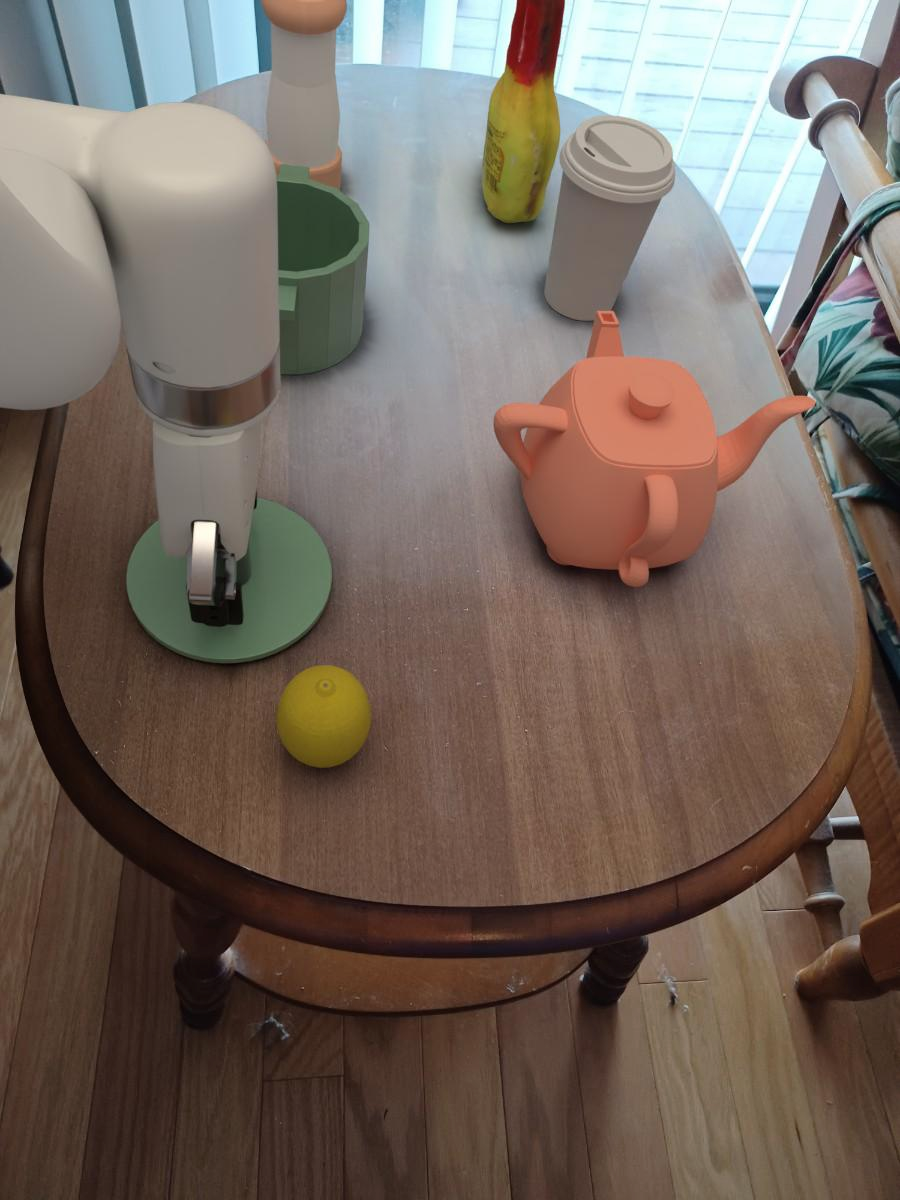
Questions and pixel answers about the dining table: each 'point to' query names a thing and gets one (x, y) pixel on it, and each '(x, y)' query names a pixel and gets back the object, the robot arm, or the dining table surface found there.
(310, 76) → the salt shaker
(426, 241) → the dining table surface
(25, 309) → the robot arm
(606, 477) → the teapot
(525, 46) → the bottle
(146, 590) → the pot lid
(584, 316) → the coffee cup
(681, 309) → the dining table surface
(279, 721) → the lemon
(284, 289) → the pot
